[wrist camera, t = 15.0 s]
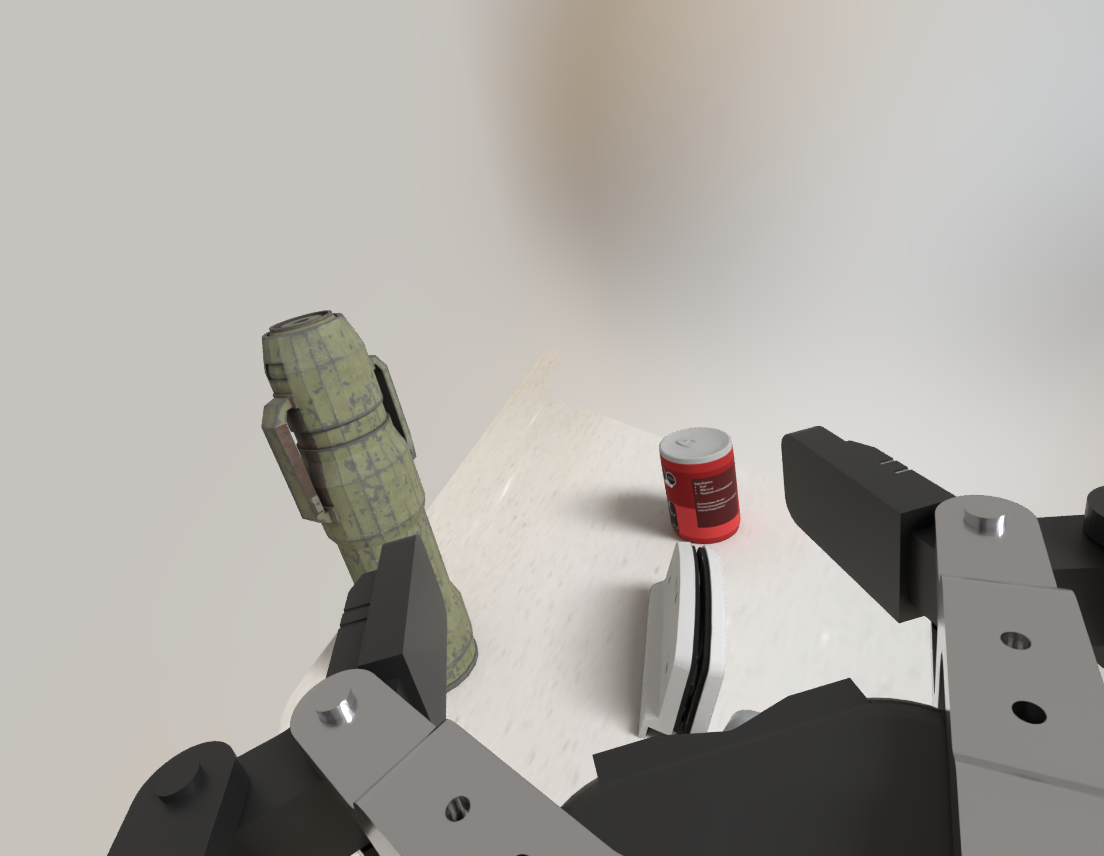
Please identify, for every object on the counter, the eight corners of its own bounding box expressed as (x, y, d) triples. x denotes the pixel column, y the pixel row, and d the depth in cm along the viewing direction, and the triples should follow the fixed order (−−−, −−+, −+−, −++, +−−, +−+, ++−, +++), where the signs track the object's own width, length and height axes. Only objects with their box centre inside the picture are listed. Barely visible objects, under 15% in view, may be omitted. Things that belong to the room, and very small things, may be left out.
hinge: (649, 595, 61) (669, 515, 56) (695, 606, 60) (720, 526, 56) (637, 741, 46) (664, 649, 42) (699, 757, 45) (733, 666, 41)
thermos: (362, 705, 56) (194, 351, 42) (431, 617, 65) (312, 305, 52) (439, 723, 52) (282, 339, 38) (500, 626, 61) (392, 292, 48)
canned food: (686, 503, 75) (674, 424, 70) (750, 512, 70) (741, 428, 66) (661, 538, 69) (646, 455, 65) (729, 550, 64) (718, 462, 60)
